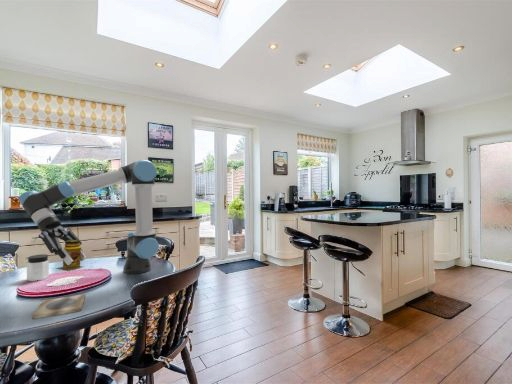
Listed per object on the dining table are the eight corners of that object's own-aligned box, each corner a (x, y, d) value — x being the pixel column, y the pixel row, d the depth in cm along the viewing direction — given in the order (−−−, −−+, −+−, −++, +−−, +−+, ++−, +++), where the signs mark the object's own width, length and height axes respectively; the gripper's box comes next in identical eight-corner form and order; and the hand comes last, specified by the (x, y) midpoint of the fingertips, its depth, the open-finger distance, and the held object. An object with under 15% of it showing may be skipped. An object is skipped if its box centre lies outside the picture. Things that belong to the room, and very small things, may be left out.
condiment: (68, 271, 107) (70, 242, 107) (54, 269, 109) (56, 240, 110) (85, 267, 114) (86, 239, 114) (71, 264, 116) (73, 238, 116)
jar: (25, 282, 132) (25, 259, 132) (28, 277, 139) (28, 255, 139) (47, 279, 137) (48, 256, 137) (49, 275, 143) (49, 253, 143)
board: (85, 296, 116) (85, 293, 116) (81, 310, 102) (81, 307, 102) (42, 303, 108) (42, 300, 108) (32, 319, 95) (32, 315, 95)
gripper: (61, 224, 123) (89, 261, 120) (18, 229, 105) (50, 273, 102) (71, 213, 122) (100, 250, 119) (29, 216, 104) (62, 260, 101)
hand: (77, 261), depth 111 cm, fingers closed on condiment, 6 cm apart
